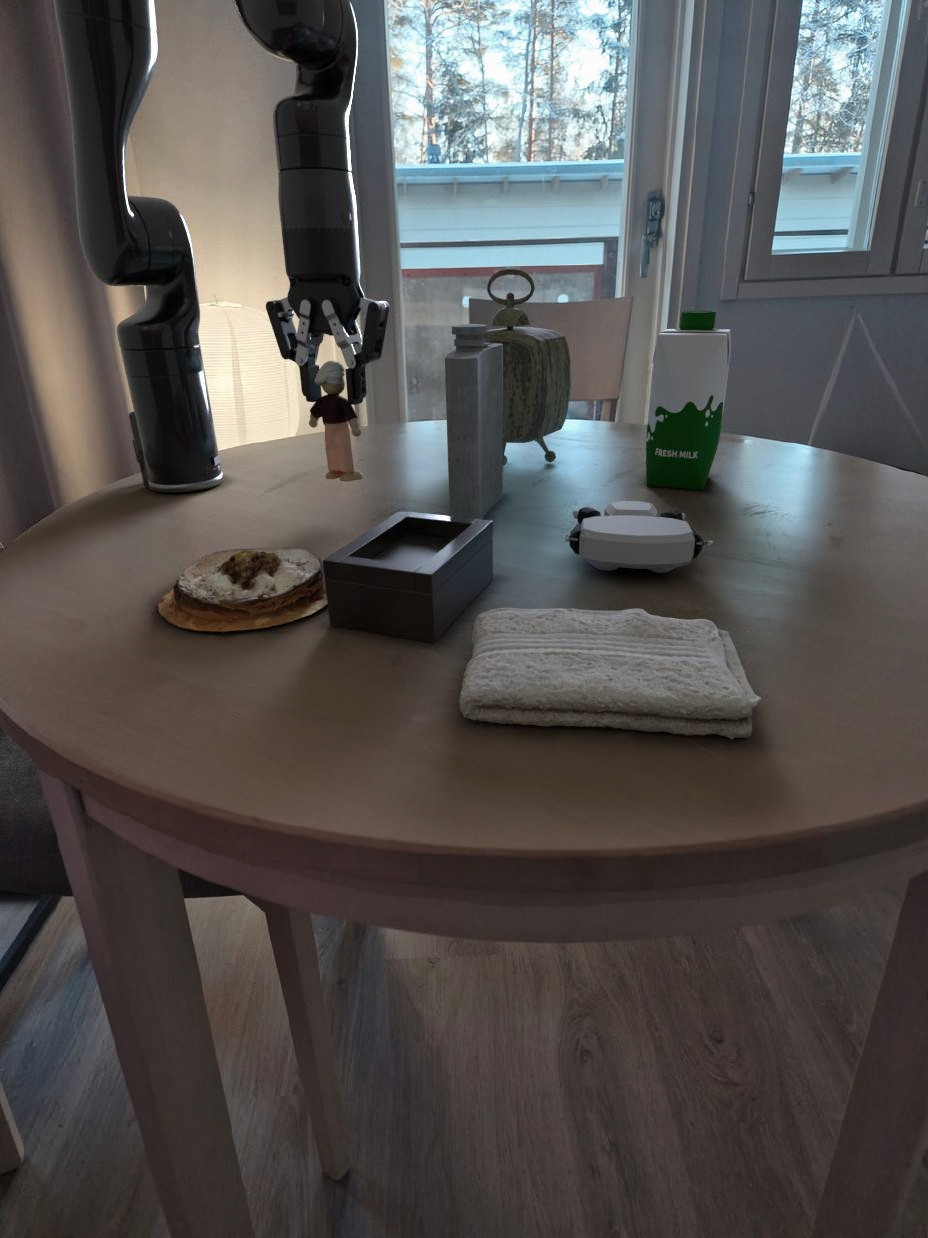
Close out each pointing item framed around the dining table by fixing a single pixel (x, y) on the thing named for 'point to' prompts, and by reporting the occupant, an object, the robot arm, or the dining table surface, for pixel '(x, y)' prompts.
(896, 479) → the dining table surface
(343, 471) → the grandmother figurine
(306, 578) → the cream topped tart
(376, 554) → the box with recessed lid
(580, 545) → the robot toy
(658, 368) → the milk carton
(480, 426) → the hip flask
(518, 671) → the washcloth
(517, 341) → the tabletop clock
